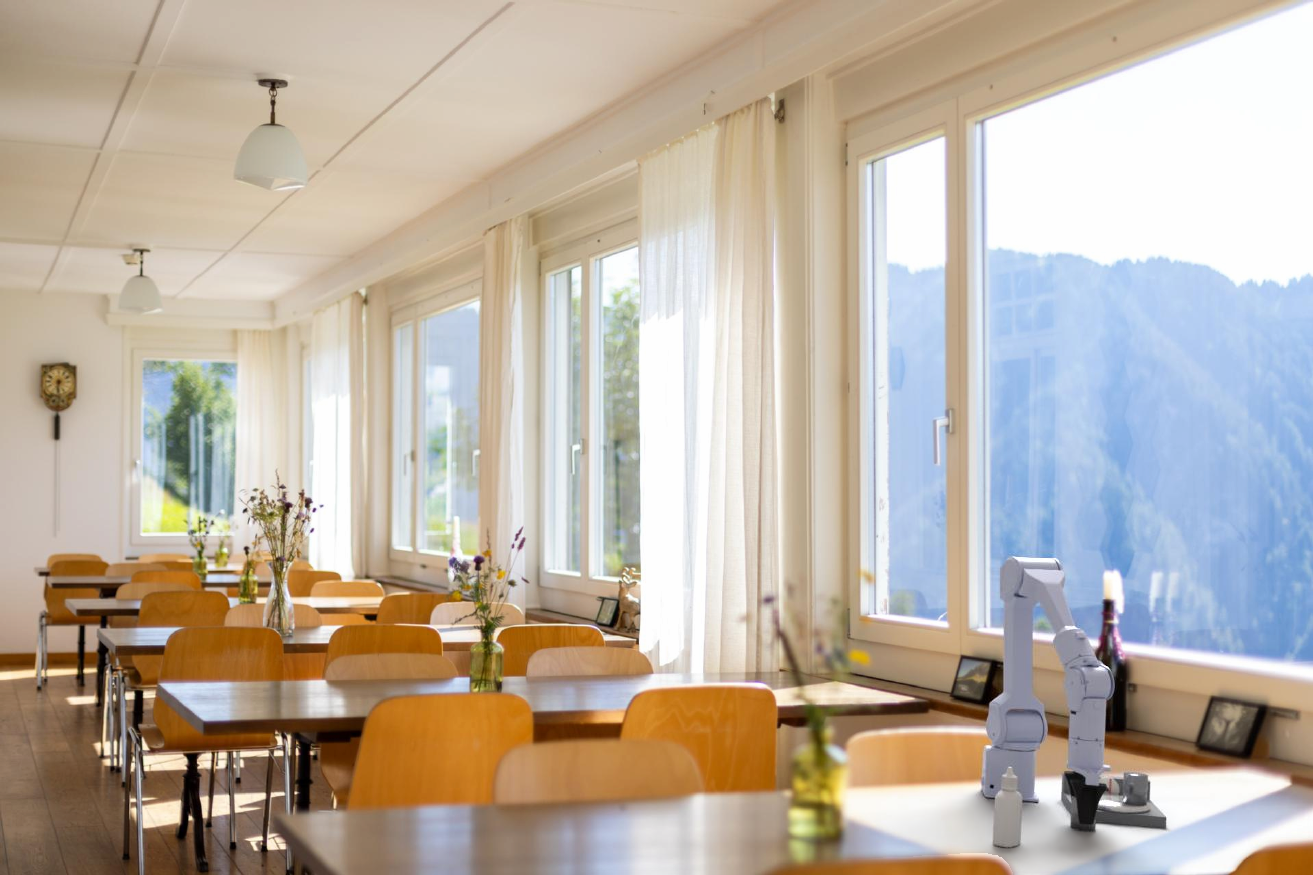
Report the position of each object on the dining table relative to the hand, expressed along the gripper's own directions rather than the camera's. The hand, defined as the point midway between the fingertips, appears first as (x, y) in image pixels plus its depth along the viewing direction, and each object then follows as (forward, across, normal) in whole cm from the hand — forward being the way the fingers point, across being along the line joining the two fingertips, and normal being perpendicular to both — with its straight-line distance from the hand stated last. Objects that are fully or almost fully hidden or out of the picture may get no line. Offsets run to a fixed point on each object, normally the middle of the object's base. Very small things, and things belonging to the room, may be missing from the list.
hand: (1083, 819), depth 219 cm
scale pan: (0, +12, -7) cm, 13 cm away
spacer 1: (+2, 0, 0) cm, 2 cm away
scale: (+1, +13, -7) cm, 15 cm away
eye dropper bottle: (+2, -15, +14) cm, 21 cm away
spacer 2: (-1, +12, -10) cm, 16 cm away
